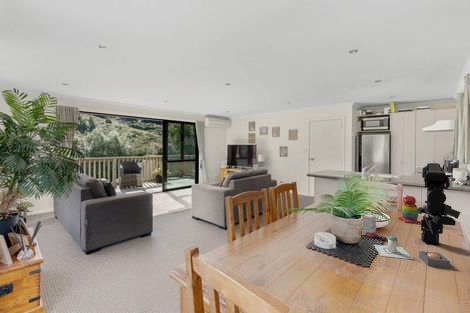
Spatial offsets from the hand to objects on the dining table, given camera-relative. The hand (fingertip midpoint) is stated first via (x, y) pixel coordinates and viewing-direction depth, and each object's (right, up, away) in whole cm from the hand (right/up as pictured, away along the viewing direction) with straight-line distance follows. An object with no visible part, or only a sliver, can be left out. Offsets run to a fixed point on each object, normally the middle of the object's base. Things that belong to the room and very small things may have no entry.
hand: (434, 234), depth 104 cm
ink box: (-11, -12, +34) cm, 38 cm away
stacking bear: (+32, -10, +58) cm, 67 cm away
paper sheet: (-11, -12, +11) cm, 20 cm away
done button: (0, -12, +1) cm, 12 cm away
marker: (-11, -12, +11) cm, 20 cm away
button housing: (0, -13, +1) cm, 13 cm away
